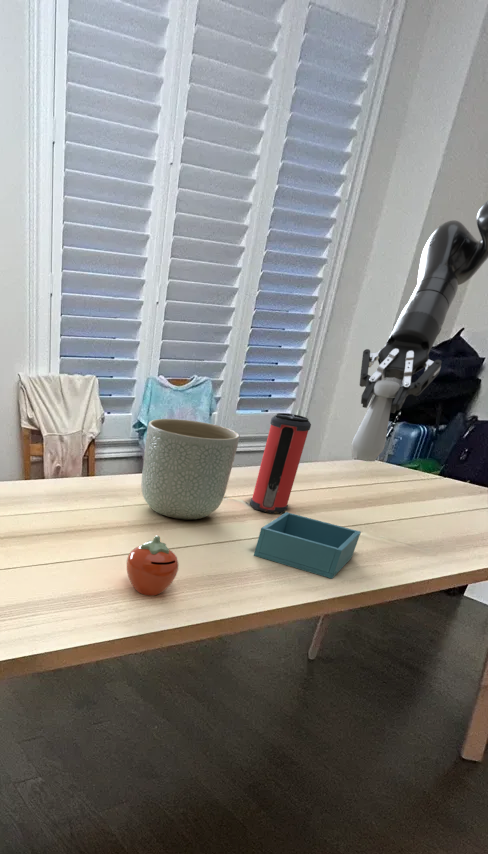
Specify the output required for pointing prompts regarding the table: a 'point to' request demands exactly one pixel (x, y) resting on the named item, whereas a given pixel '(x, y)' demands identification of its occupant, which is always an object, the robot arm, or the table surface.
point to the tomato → (152, 567)
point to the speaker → (280, 462)
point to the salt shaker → (375, 423)
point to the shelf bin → (307, 544)
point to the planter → (187, 467)
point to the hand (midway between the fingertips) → (379, 406)
